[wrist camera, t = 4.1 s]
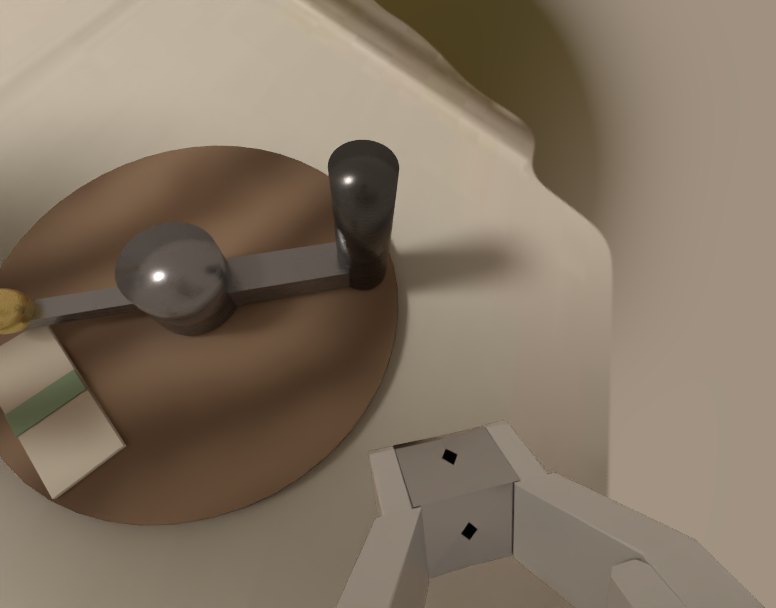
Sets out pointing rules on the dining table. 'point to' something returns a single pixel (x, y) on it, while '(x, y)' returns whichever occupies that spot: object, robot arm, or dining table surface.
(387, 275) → the stand
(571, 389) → the dining table surface
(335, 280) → the crank lever
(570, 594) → the robot arm
